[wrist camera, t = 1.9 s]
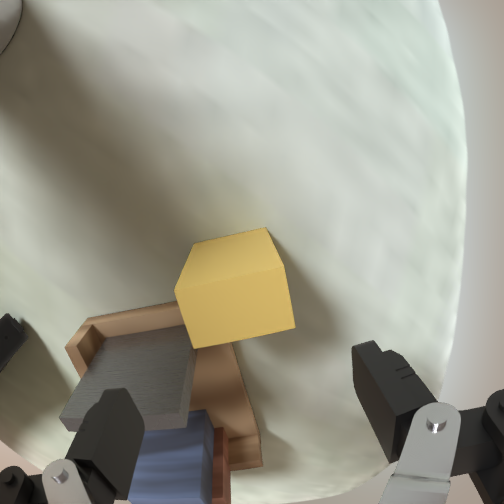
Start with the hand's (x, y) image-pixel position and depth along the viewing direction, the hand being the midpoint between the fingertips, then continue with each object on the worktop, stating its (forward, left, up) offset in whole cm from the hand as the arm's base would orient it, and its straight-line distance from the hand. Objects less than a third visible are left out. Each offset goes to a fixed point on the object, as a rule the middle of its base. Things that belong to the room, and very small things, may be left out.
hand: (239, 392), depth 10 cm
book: (0, 0, -15) cm, 15 cm away
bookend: (+4, -8, -14) cm, 16 cm away
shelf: (+11, -8, -15) cm, 20 cm away
